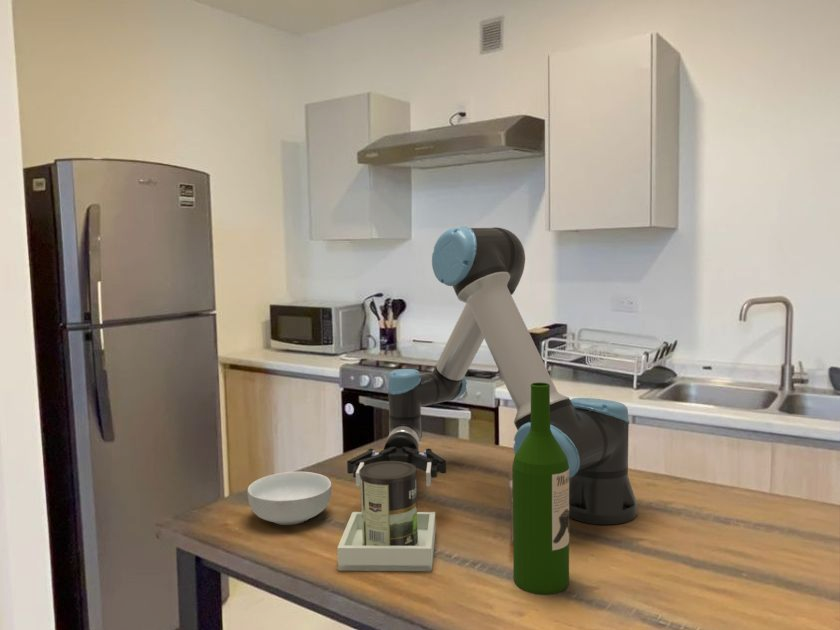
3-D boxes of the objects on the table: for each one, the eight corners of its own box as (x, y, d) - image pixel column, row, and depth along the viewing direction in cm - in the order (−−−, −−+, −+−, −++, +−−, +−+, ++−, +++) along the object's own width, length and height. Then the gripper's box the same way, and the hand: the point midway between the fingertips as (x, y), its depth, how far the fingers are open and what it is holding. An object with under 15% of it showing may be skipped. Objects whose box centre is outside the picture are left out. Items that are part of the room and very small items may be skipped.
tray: (435, 532, 131) (435, 512, 130) (431, 571, 115) (431, 548, 114) (353, 531, 132) (352, 511, 131) (338, 570, 116) (337, 547, 115)
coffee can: (419, 532, 128) (417, 459, 127) (417, 557, 118) (415, 478, 117) (364, 533, 128) (362, 460, 127) (358, 557, 118) (356, 479, 117)
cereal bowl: (231, 528, 135) (230, 494, 134) (277, 499, 150) (275, 468, 150) (307, 539, 129) (305, 503, 128) (346, 507, 144) (345, 475, 144)
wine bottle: (556, 600, 104) (556, 392, 101) (504, 585, 109) (502, 386, 106) (577, 576, 112) (577, 381, 109) (527, 563, 117) (525, 377, 114)
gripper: (458, 463, 151) (458, 498, 130) (347, 464, 153) (329, 498, 132) (457, 430, 151) (457, 460, 130) (345, 431, 152) (327, 461, 131)
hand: (392, 479), depth 131 cm, fingers open, 13 cm apart
